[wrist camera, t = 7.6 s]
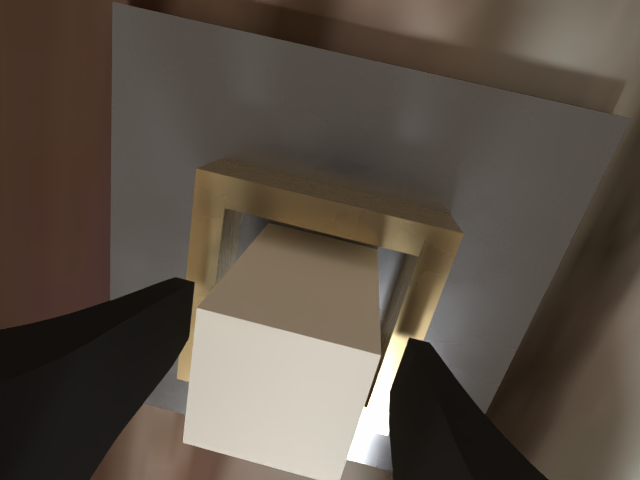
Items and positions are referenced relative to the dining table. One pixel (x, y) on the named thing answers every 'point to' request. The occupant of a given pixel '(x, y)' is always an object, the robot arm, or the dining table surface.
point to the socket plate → (346, 188)
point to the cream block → (286, 353)
